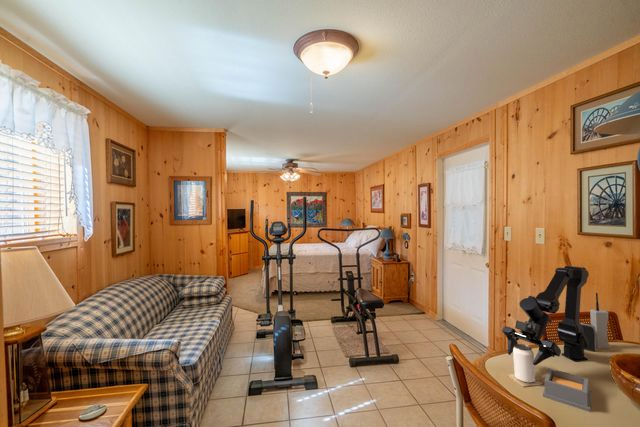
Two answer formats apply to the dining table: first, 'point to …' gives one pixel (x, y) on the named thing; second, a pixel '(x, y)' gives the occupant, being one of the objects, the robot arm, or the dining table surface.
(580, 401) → the grey open box
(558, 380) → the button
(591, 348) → the battery
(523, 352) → the can
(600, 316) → the vintage mobile phone
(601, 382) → the dining table surface
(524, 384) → the tan wavy cloth
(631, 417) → the dining table surface
